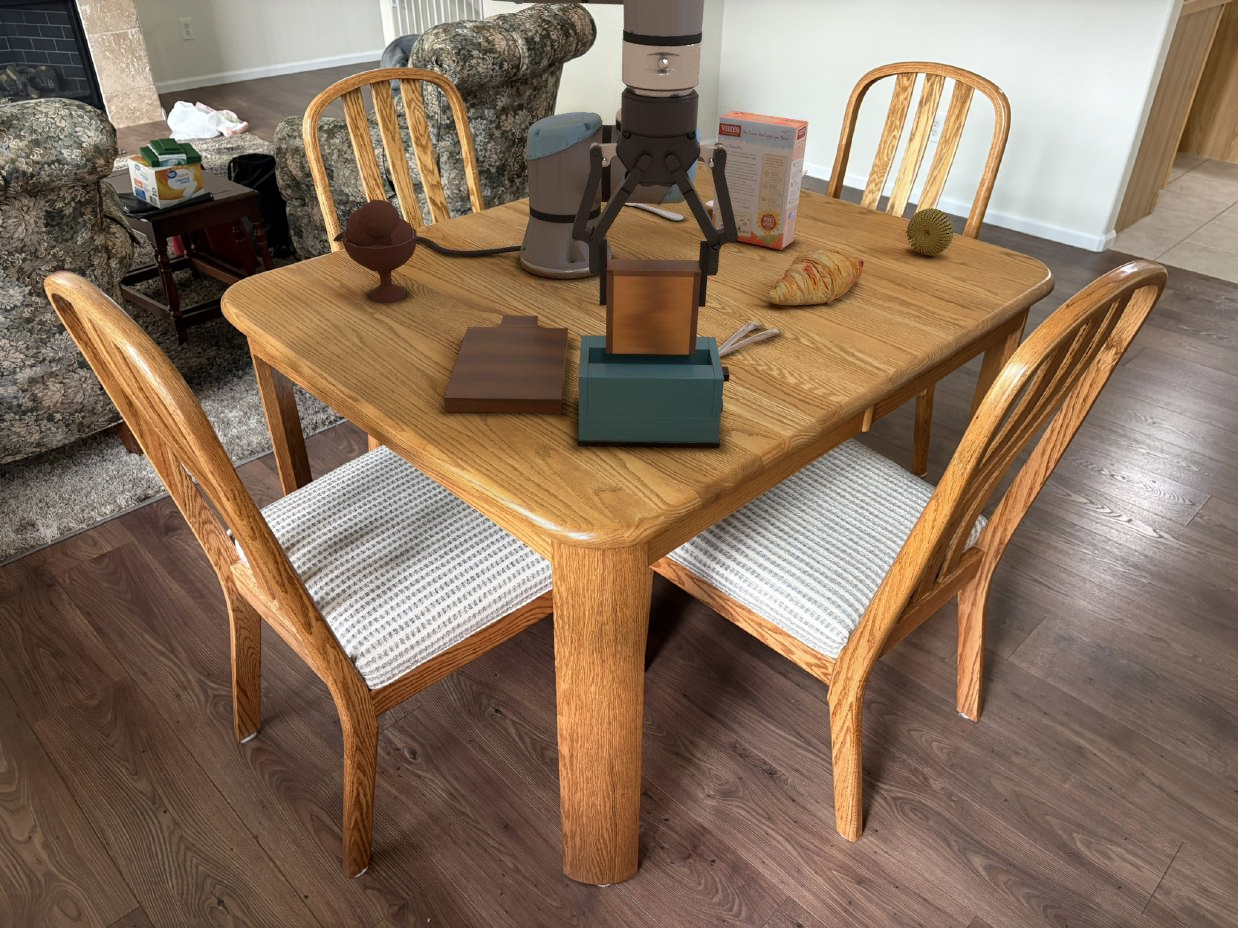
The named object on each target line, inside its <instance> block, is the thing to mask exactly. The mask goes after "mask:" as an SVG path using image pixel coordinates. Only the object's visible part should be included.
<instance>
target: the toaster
mask: <svg viewBox="0 0 1238 928" xmlns="http://www.w3.org/2000/svg"><path fill="white" fill-rule="evenodd" d="M718 348H719V346H718V343H717V338H716V337H715V336H697V337H696V351H695V355H678V354H606V335H600V334H599V335H598V334H597V335H596V334H595V335H594V334H593V335H592V334H591V335H590V334H582V335H581V339H580V349H579V365H578V378H577V379H578V380H577V381H578V384H577V385H578V386H577V387H578V424H577V425H578V426H577V437H576V438H577V440H576V447H598V448H599V447H600V448H607V447H608V448H672V449H673V448H677V449H678V448H679V449H680V448H681V449H720V447H721V439H720V428H721V416H722V413H723V410H724V399H723V394H724V384H725V382H726V383H729V382H730V377H731V376H730V375H731V374H730V370H729V367H728V366H722V363H721V357H719V352H718Z"/></svg>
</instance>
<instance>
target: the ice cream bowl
mask: <svg viewBox="0 0 1238 928" xmlns="http://www.w3.org/2000/svg"><path fill="white" fill-rule="evenodd" d="M345 231H346V232H345V233H344V234H343V238H342V239H341V241H342V244H343V247H344V250H345V252H346V253H347V255H348V256H349V258H350V259H351V260H353V261H354V262H355V263H357V264H358V265H359V266H362V267H364V268H366V269H367V270H370V271H372V272H375V273H377V274H378V275H379V281H380V284H378V285H377V286H376V287H374V288H373V289H371V290H370V296H369V299H370V300H373V301H375V302H376V303H378V302H379V303H390V302H396V301H397V302H398V301H400V300H402V299H403V298H405V297H406V294H407V293H406V290H405V288H403V287H402V286H399V285H397V284H395V283H393V279H392V272H393V271H395V270H397V269H399V268H400V267H402V266H404V265H405V264H406V263H407V262H409V260H410V259H411V258H412V257H413V256H414V253H415V251H416V247H417V241H416V239H417V236H418V235H417V229H416V228H414V227H412V224H411V223H410V222H409V221H407V220H405V219H404V218H400V213H399V211H398V209H397V208H396V206H395V205H394V204H392V203H391V202H390V201H387V200H384V199H371V200H370V201H368V202H367V203H365V204H364V205H362V207H360V208H358V209H355V210H353V212H352V213H351V214H350V215H349V217H348V219H347V222H346V226H345Z"/></svg>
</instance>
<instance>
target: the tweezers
mask: <svg viewBox="0 0 1238 928" xmlns="http://www.w3.org/2000/svg"><path fill="white" fill-rule="evenodd" d="M762 326H763V323H762V322H754V321H753V320H752V321H750V322H748V323H746V324H745V325H744V326H742V327H740V328H739V329H738V330H737V331H736V332H735V333H734V334H732V336H730V337H729V338H728V339H727V340H726V341H725V342H724V343H722V344H721V345H720V346H718V352H719V357H720V358H721V357H723V356H725V355H728V354H730V353H732V352H734V351H736V350H739V349H741V348H743V347H745V346H748V345H750V344H753V343H756V342H760V341H762V340H764V339H767V338H771V337H774V336H779V334H780V330H779V329H777V328H776V327H772V329H768V330H765V331H762V332H759V333H756V334H754V335H752V336H750V337H747V338H746V339H743V340H741V341H739V342H737V341H738V340H739V339H741V338H742V337H744V336H746V334H748V333H749V332H750V331H753V330H755V329H758V330H761V329H762ZM736 342H737V343H736Z"/></svg>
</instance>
